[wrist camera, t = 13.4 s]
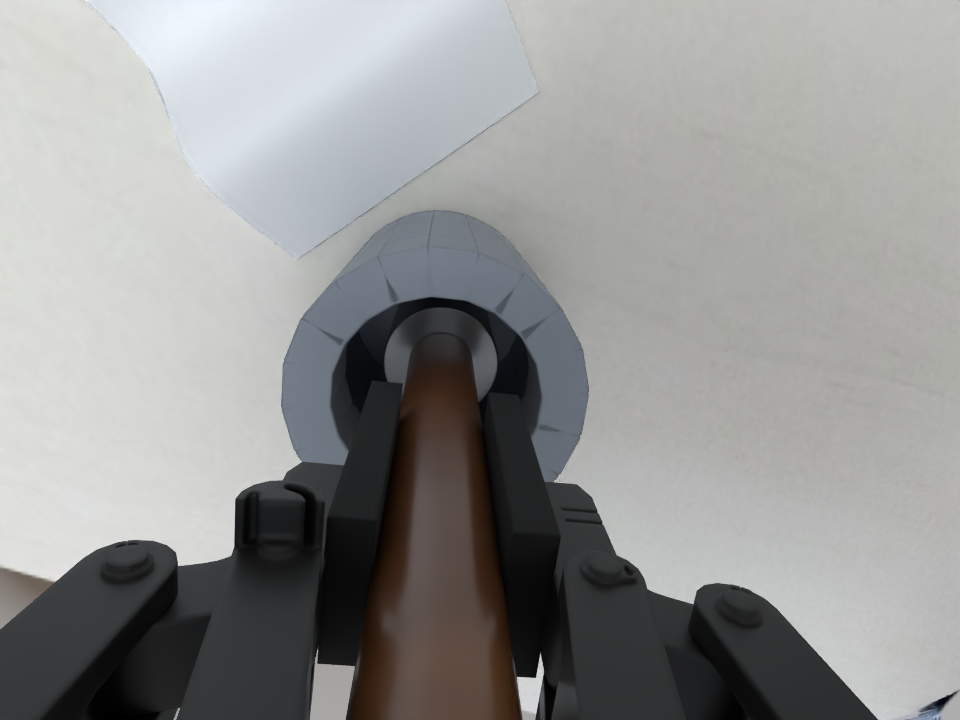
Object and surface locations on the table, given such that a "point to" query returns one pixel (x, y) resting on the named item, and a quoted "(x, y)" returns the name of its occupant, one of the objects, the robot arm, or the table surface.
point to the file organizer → (323, 96)
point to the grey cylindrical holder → (442, 274)
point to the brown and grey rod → (437, 535)
